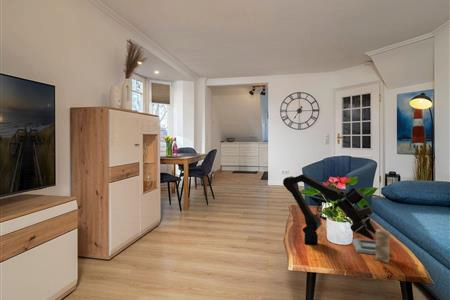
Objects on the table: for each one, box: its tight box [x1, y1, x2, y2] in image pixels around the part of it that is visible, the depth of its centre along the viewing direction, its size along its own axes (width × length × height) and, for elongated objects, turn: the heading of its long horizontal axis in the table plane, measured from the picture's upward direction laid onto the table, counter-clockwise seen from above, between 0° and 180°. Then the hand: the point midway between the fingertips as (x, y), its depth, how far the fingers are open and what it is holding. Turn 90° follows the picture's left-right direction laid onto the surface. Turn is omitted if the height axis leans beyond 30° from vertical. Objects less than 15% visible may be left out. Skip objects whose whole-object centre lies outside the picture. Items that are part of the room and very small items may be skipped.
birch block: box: [375, 228, 390, 263], centre depth 117 cm, size 5×5×13 cm
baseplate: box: [351, 238, 376, 255], centre depth 129 cm, size 14×14×2 cm
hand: (374, 236), depth 119 cm, fingers open, 9 cm apart
